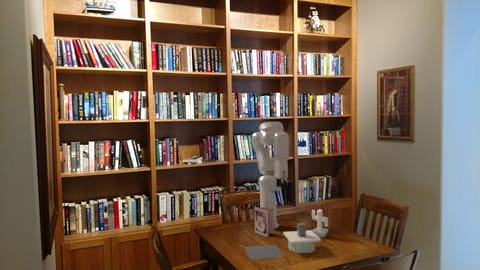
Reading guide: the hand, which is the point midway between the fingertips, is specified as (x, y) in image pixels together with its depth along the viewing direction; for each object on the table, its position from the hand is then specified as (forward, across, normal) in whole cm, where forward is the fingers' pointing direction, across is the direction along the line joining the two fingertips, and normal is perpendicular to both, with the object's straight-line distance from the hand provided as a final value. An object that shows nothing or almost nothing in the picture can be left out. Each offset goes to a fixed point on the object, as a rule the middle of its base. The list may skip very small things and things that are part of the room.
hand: (281, 188), depth 200 cm
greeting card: (+30, -17, -5) cm, 35 cm away
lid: (+23, +11, +7) cm, 27 cm away
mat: (+29, +12, -13) cm, 34 cm away
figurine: (+30, -5, +24) cm, 38 cm away
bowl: (+29, +11, +7) cm, 32 cm away
